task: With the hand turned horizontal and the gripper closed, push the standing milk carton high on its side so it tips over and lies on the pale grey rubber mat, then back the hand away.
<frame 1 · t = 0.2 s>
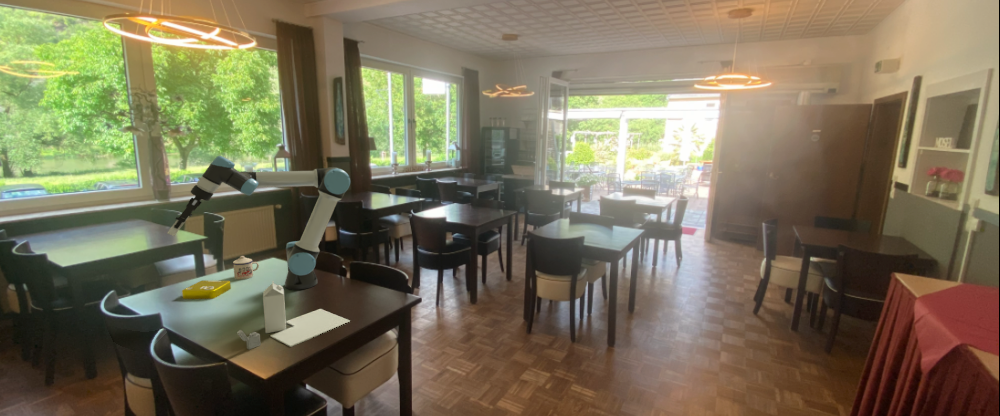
hand: (173, 231, 175), 36 cm above the table, tool tilted 35°, fingers open, 13 cm apart
element tile: (207, 294, 201), on the table
milk carton: (276, 328, 166), on the table
mat: (307, 326, 168), on the table
lighter: (249, 348, 151), on the table
teacup with lid: (247, 276, 226), on the table
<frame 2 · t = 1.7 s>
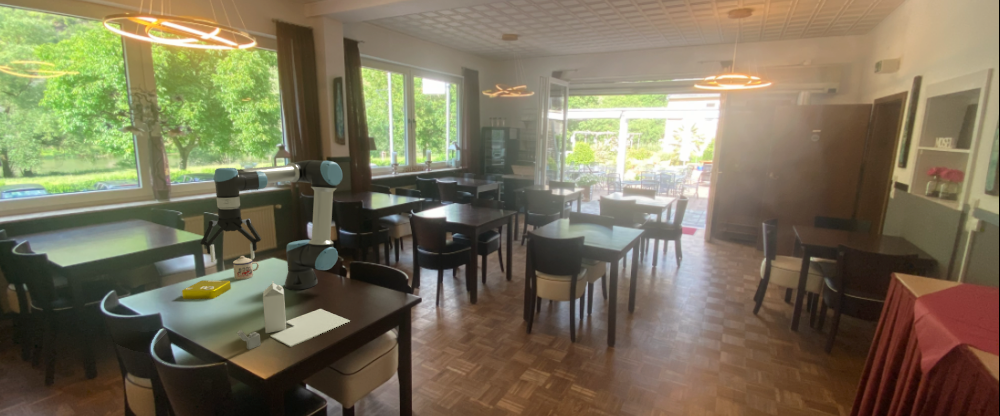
hand: (233, 260, 166), 27 cm above the table, tool pointing down, fingers open, 13 cm apart
nothing on the table moved.
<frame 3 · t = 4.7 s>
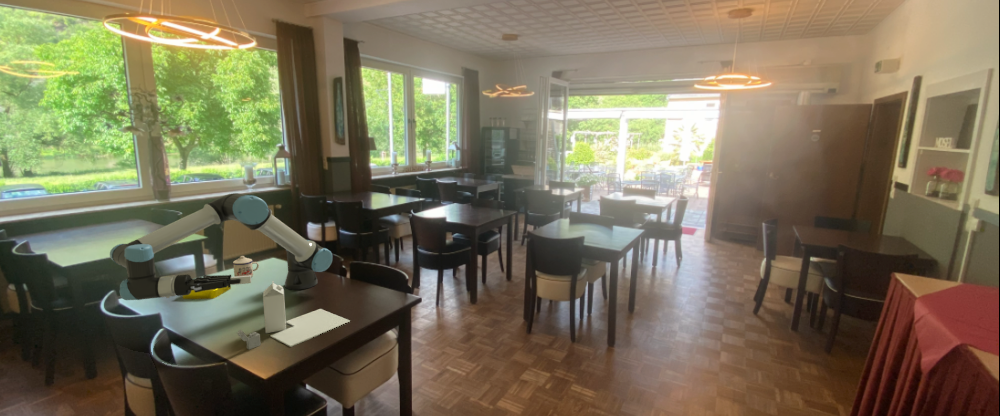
hand: (250, 279, 160), 21 cm above the table, tool horizontal, fingers closed
nothing on the table moved.
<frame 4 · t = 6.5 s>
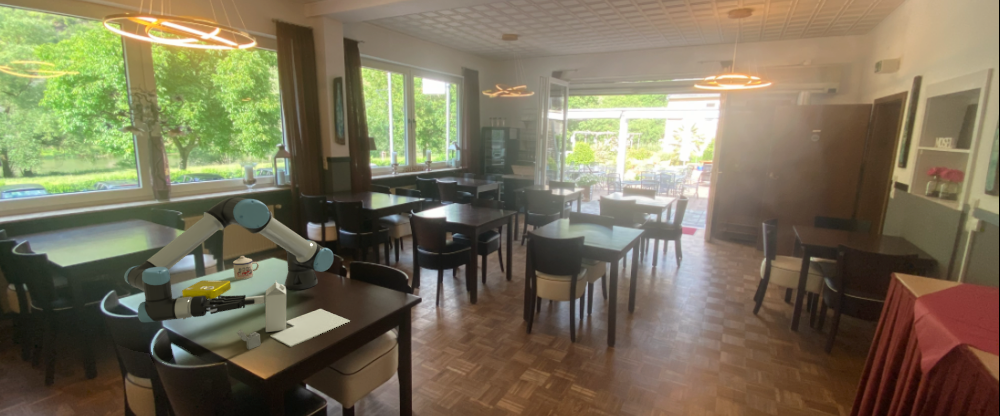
hand: (264, 299, 163), 13 cm above the table, tool horizontal, fingers closed
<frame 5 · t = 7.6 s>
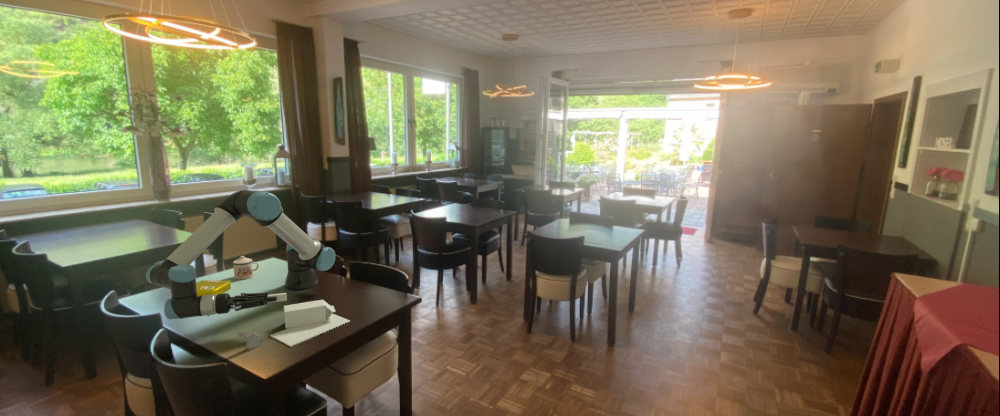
hand: (286, 296, 166), 13 cm above the table, tool horizontal, fingers closed
milk carton: (283, 317, 167), point 4 cm above the table, touching mat
everything else where it was.
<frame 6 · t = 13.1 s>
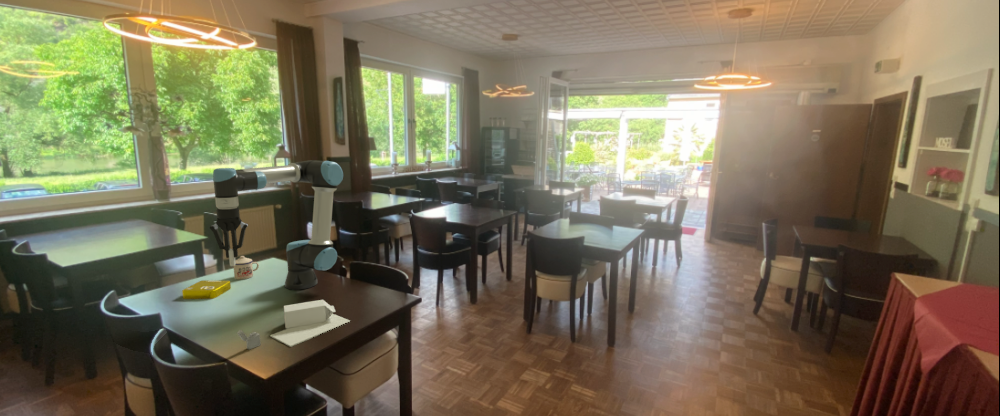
hand: (232, 265, 167), 24 cm above the table, tool pointing down, fingers closed
nothing on the table moved.
at the end: milk carton tilted 90°; milk carton inside the target area (4.1 cm from its centre), point 4.1 cm above the table; milk carton touching mat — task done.
